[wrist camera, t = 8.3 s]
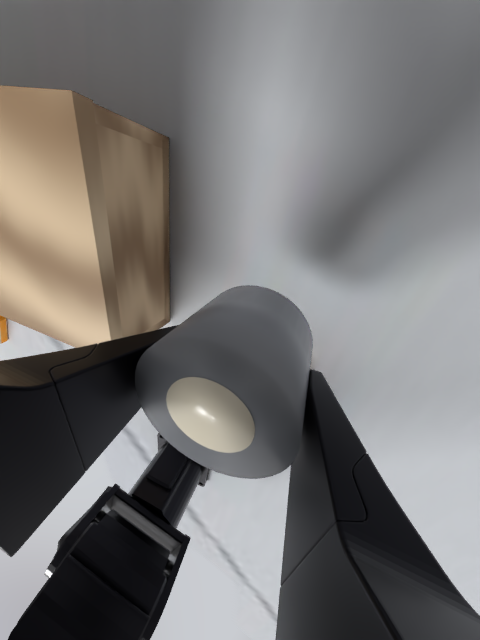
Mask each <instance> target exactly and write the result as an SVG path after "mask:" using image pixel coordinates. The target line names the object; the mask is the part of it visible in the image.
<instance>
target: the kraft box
mask: <svg viewBox="0 0 480 640" xmlns="http://www.w3.org/2000/svg"><path fill="white" fill-rule="evenodd" d="M93 106H94V114H95V122H96V130H97V138H98V145H99V153H100V161H101V169H102V177H103V185H104V193H105V201H106V209H107V217H108V225H109V233H110V240H111V248H112V256H113V264H114V272H115V280H116V288H117V296H118V304H119V312H120V320H121V327H122V335H123V337H128V336H132V335H137V334H141V333H145V332H150V331H154V330H158V329H160V328H161V327H163V326H164V325H166V324H167V323H169V322H170V258H169V138H168V137H166V136H164V135H162V134H160V133H157V132H155V131H153V130H151V129H149V128H146V127H144V126H142V125H140V124H138V123H136V122H133V121H131V120H129V119H127V118H125V117H123V116H120V115H118V114H116V113H114V112H112V111H109V110H107V109H105V108H103V107H101V106H99V105H96V104H94V103H93Z"/></svg>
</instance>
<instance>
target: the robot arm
mask: <svg viewBox="0 0 480 640" xmlns="http://www.w3.org/2000/svg"><path fill="white" fill-rule="evenodd" d="M177 326H179V325H177ZM177 326H172V327H168V328H163V329H159V330H154V331H150V332H145V333H141V334H137V335H132V336H128V337H123V338H119V339H114V340H110V341H105V342H101V343H99V344H97V343H96V344H92V345H87V346H83V347H78V348H73V349H68V350H63V351H57V352H51V353H46V354H40V355H34V356H28V357H22V358H16V359H10V360H4V361H0V549H1V550H2V551H3V552H5V553H6V554H7V555H9V556H10V557H12V556H13V555H14V554H15V553H16V552H17V551H18V550H19V549H20V548H21V546H22V545H23V544H24V543H25V542H26V541H27V540H28V538H29V537H30V536H31V535H32V534H33V533H34V531H35V530H36V529H37V528H38V527H39V526H40V524H41V523H42V522H43V521H44V520H45V519H46V517H47V516H48V515H49V514H50V513H51V512H52V510H53V509H54V508H55V507H56V506H57V505H58V503H59V502H60V501H61V500H62V499H63V498H64V497H65V495H66V494H67V493H68V492H69V491H70V490H71V488H72V487H73V486H74V485H75V484H76V483H77V482H78V480H79V479H80V478H81V477H82V476H83V475H84V473H85V471H87V470H88V468H89V467H90V466H91V465H92V464H93V463H94V461H95V460H96V459H97V458H98V457H99V456H100V455H101V453H102V452H103V451H104V450H105V449H106V448H107V446H108V445H109V444H110V443H111V442H112V441H113V439H114V438H115V437H116V436H117V435H118V434H119V433H120V431H121V430H122V429H123V428H124V427H125V426H126V424H127V423H128V422H129V421H130V420H131V419H132V417H133V416H134V415H135V414H136V413H137V412H138V410H139V409H140V408H141V407H142V406H141V404H140V402H139V399H138V396H137V392H136V387H135V370H136V366H137V363H138V361H139V359H140V357H141V356H142V354H143V353H144V352H145V351H146V350H147V349H148V348H149V347H151V346H152V345H153V344H155V343H156V342H157V341H159V340H160V339H161V338H163V337H164V336H165V335H167V334H168V333H169V332H171V331H172V330H173V329H175V328H176V327H177ZM207 473H208V468H206V467H204V466H202V465H200V464H198V463H197V462H195V461H193V460H191V459H190V458H188V457H187V456H185V455H184V454H182V453H181V452H180V451H178V450H177V449H176V448H175V447H173V446H172V445H171V444H170V443H169V442H168V441H167V440H166V439H165V438H164V437H163V436H162V435H161V434H160V433H158V453H157V454H156V455H155V457H154V458H153V460H152V461H151V463H150V464H149V465H148V467H147V468H146V470H145V471H144V472H143V474H142V475H141V477H140V478H139V479H138V481H137V482H136V484H135V485H134V486H133V488H132V489H131V491H130V492H129V493H128V494H127V493H126V492H125V491H123V490H122V489H120V486H118V485H117V484H115V485H114V486H113V487H109V486H108V487H107V489H106V490H105V491H104V492H103V494H102V495H101V496H100V497H99V499H98V500H97V501H96V502H95V503H94V504H93V505H92V507H91V508H90V509H89V510H88V511H87V512H86V513H85V514H84V515H83V516H82V517H81V518H80V519H79V520H78V521H77V522H76V523H75V524H74V525H73V526H72V527H71V528H70V529H69V530H68V531H67V532H66V533H65V534H64V535H63V536H62V537H61V539H60V540H59V542H58V548H57V552H56V554H55V556H54V557H53V559H52V562H51V563H50V565H49V566H48V568H47V570H46V572H45V575H46V576H47V577H48V578H49V579H48V580H47V582H46V583H45V585H44V586H43V587H42V589H41V590H40V591H39V593H38V594H37V596H36V597H35V598H34V600H33V601H32V603H31V604H30V605H29V607H28V608H27V609H26V611H25V612H24V614H23V615H22V616H21V618H20V619H19V621H18V623H17V625H16V626H15V628H14V629H13V631H12V632H11V634H10V636H9V638H8V640H150V638H151V636H152V634H153V632H154V630H155V628H156V626H157V624H158V622H159V619H160V617H161V615H162V613H163V610H164V608H165V605H166V603H167V600H168V597H169V595H170V592H171V589H172V587H173V584H174V581H175V579H176V576H177V573H178V571H179V568H180V565H181V563H182V560H183V557H184V554H185V552H186V549H187V546H188V544H189V541H190V537H189V536H187V535H186V534H185V535H184V534H182V533H181V532H180V531H178V530H177V529H176V528H177V526H178V524H179V522H180V520H181V518H182V515H183V513H184V511H185V509H186V507H187V505H188V503H189V501H190V499H191V497H192V495H193V493H194V491H195V489H196V487H197V484H198V485H200V486H205V484H206V480H207ZM276 640H480V616H479V615H478V614H477V613H476V611H475V610H474V609H473V608H472V607H471V606H470V605H469V603H468V602H467V601H466V600H465V599H464V597H463V596H462V595H461V594H460V592H459V591H458V590H457V589H456V587H455V586H454V585H453V583H452V582H451V580H450V579H449V578H448V576H447V575H446V573H445V572H444V570H443V569H442V568H441V566H440V565H439V563H438V562H437V560H436V559H435V557H434V556H433V554H432V553H431V551H430V550H429V548H428V547H427V545H426V544H425V542H424V541H423V539H422V538H421V536H420V535H419V533H418V532H417V531H416V529H415V528H414V526H413V525H412V523H411V522H410V520H409V519H408V517H407V516H406V514H405V513H404V511H403V510H402V508H401V507H400V505H399V504H398V502H397V501H396V499H395V498H394V496H393V495H392V493H391V491H390V490H389V488H388V487H387V485H386V484H385V482H384V480H383V479H382V477H381V475H380V474H379V472H378V470H377V469H376V467H375V465H374V464H373V462H372V460H371V458H370V457H369V455H368V454H367V453H366V450H365V448H364V446H363V445H362V443H361V441H360V439H359V438H358V436H357V434H356V432H355V431H354V429H353V427H352V425H351V424H350V422H349V420H348V418H347V417H346V415H345V413H344V411H343V409H342V408H341V406H340V404H339V402H338V401H337V399H336V397H335V395H334V394H333V392H332V390H331V388H330V387H329V385H328V383H327V381H326V380H325V378H324V376H323V374H322V373H321V372H318V371H315V370H312V369H311V370H310V372H309V380H308V388H307V396H306V404H305V412H304V420H303V428H302V436H301V444H300V449H299V452H298V455H297V457H296V458H295V460H294V461H293V463H292V464H291V472H290V483H289V494H288V506H287V517H286V528H285V540H284V551H283V563H282V574H281V587H280V596H279V607H278V618H277V630H276Z"/></svg>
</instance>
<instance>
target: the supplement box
mask: <svg viewBox="0 0 480 640" xmlns="http://www.w3.org/2000/svg"><path fill="white" fill-rule="evenodd" d="M7 331H8V330H7V319H6V318H5V317H3V316H0V344H1V343H3V342H6V341H7V340H8V332H7Z"/></svg>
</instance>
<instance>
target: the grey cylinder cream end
mask: <svg viewBox="0 0 480 640" xmlns="http://www.w3.org/2000/svg"><path fill="white" fill-rule="evenodd" d="M312 348H313V339H312V334H311V330H310V327H309V324H308V322H307V320H306V318H305V317H304V315H303V314H302V312H301V311H300V310H299V309H298V308H297V306H296V305H295V304H294V303H292V302H291V301H290V300H289V299H288V298H286V297H284V296H283V295H281V294H279V293H277V292H275V291H273V290H270V289H268V288H264V287H259V286H250V285H249V286H239V287H234V288H231V289H229V290H226V291H225V292H223V293H221V294H220V295H218V296H217V297H216V298H214V299H213V300H212V301H210V302H209V303H208V304H207V305H205V306H204V307H203V308H201V309H200V310H199V311H197V312H196V313H195V314H193V315H192V316H191V317H189V318H188V319H187V320H185V321H184V322H183V323H181V324H180V325H179V326H177V327H176V328H175V329H173V330H172V331H171V332H169V333H168V334H167V335H165V336H164V337H163V338H161V339H160V340H159V341H157V342H156V343H155V344H153V345H152V346H151V347H149V348H148V349H147V350H146V351H145V352H144V353H143V354H142V356H141V357H140V359H139V361H138V363H137V366H136V370H135V387H136V392H137V396H138V399H139V402H140V404H141V406H142V408H143V410H144V412H145V414H146V416H147V417H148V419H149V420H150V422H151V423H152V425H153V426H154V427H155V428H156V430H157V431H158V432H159V433H160V434H161V435H162V436H163V437H164V438H165V439H166V440H167V441H168V442H169V443H170V444H171V445H172V446H173V447H175V448H176V449H177V450H178V451H180V452H181V453H182V454H184V455H185V456H187V457H188V458H190V459H191V460H193V461H195V462H197V463H198V464H200V465H202V466H204V467H206V468H209V469H211V470H213V471H216V472H219V473H222V474H225V475H229V476H233V477H238V478H249V479H257V478H265V477H269V476H273V475H276V474H278V473H280V472H282V471H284V470H285V469H287V468H288V467H289V466H290V465H291V464H292V463H293V461H294V460H295V458H296V457H297V455H298V452H299V449H300V444H301V436H302V428H303V420H304V412H305V404H306V396H307V388H308V380H309V372H310V364H311V356H312Z"/></svg>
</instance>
